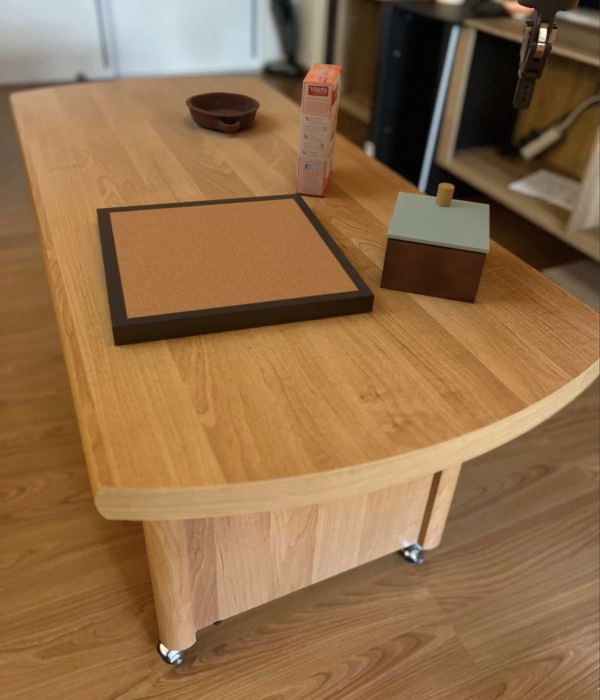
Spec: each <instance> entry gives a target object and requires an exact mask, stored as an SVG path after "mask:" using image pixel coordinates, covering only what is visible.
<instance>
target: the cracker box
mask: <svg viewBox="0 0 600 700" xmlns="http://www.w3.org/2000/svg"><path fill="white" fill-rule="evenodd" d="M342 75H343V66H341V65H337V64H326V63H318V62H317V63H313V64H312V66H311V67H310V68H309V71H308V72H307V74H306V76H305V77H304V79H303V81H302V93H301V105H300V106H301V108H300V122H299V136H298V151H297V152H298V153H297V167H296V181H295V182H296V183H295V194H300V195H305V196H312V197H313V196H314V197H321V198H323V197H324V196H325V193H326V190H327V187H328V184H329V181H330V177H331V175H332V171H333V161H334V154H335V145H336V144H335V143H336V135H337V127H338V124H337V123H338V117H339V108H340V107H339V105H340V97H341V96H340V95H341V87H342V86H341V84H342Z"/></svg>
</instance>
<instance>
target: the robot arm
mask: <svg viewBox="0 0 600 700" xmlns="http://www.w3.org/2000/svg"><path fill="white" fill-rule="evenodd" d="M516 2H517V4H518V5H519V6H521V7H524V8H527V9H533V12H532V14H531V18H530V20H528V19H527V20H525V21H524V25H523V29H522V34H523V36H522V37H523V38H522V41H521V45H520V51H519V57H520V59H519V60H520V61H519V63H518V71H517V75H518V76H517V77H518V81H517V85H516V88H515V92H514V97H513V100H512V105H513V108H514V109H518V110H528V109H529V108H530V106H531V103H532V98H533V96H534V92H535V87H536V84H537V82H538V80H540V79H541V78H542V76H543V72H544V69H545V66H546V65H547V64H546V63H547V62H548V59H549V56H550V54H551V51H552V49H553V46H552V45H553V42H555V40H556V37H557V33H558V30H559V26H558V25H557V22H555V20H556V15H557V13H558V12H571V11H573V10H575V9H576V8H577V7H578V5H579V2H580V0H516Z"/></svg>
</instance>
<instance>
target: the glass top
mask: <svg viewBox="0 0 600 700" xmlns="http://www.w3.org/2000/svg"><path fill="white" fill-rule="evenodd" d="M454 192H455V185H454V184H452V183H448V182H441V183H439V184H438V187H437V193H436V196H433V195H425V194H420V193H412V192H411V193H410V192H405V191H398V195H397V198H396V201H395V205H394V208H393V212H392V215H391V218H390V222H389V226H388V228H387V232H386V238H387V239H388V238H393V239H400V240H406V241H412V242H419V243H425V244H431V245H438V246H444V247H451V248H457V249H463V250H470V251H476V252H482V253H487V254H489V253H490V250H491V249H490V204H487V203H482V202H481V203H480V202H474V201H467V200H461V199H460V200H459V199H453V196H454Z"/></svg>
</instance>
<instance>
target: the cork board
mask: <svg viewBox="0 0 600 700" xmlns="http://www.w3.org/2000/svg"><path fill="white" fill-rule="evenodd" d="M95 211H96V218H97V225H98V232H99V240H100V248H101V256H102V263H103V269H104V277H105V285H106V293H107V301H108V309H109V316H110V322H111V330H112V336H113V337H112V338H113V342H114V346H115V347H116V346H123V345H131V344H138V343H146V342H154V341H161V340H168V339H176V338H185V337H192V336H199V335H205V334H206V335H207V334H214V332H215V333H222V331H223V332H228V331H229V332H230V331H236V330H237V329H238V330H244V329H245V330H246V329H251V328H252V329H253V328H259V327H268V326H275V325H282V324H290V323H298V322H304V321H312V320H321V319H328V318H335V317H343V316H351V315H358V314H366V313H372V312H373V308H374V302H375V294H374V292H373V291H372V290H371V288H370V287H369V286H368V284H367V283H366V282H365V280H364V279H363V278H362V276H361V275H360V274H359V272H358V270H356V268H355V267H354V265H353V264H352V263H351V261H350V260H349V258H348V257H347V256H346V255H345V253H344V252H343V250H342V249H341V248H340V247H339V245H338V244H337V242H336V241H335V240H334V239H333V237H332V236H331V234H330V233H329V232H328V230H327V229H326V227H325V226H324V225H323V224H322V222H321V221H320V219H319V218H318V217H317V216H316V214H315V213H314V211H313V210H312V208H310V206H309V205H308V203H307V202H306V201H305V199H304V198H303V197H302V194H297V193H286V194H273V195H260V196H259V195H258V196H247V197H233V198H222V199H221V198H220V199H208V200H193V201H181V202H180V201H179V202H165V203H153V204H140V205H126V206H113V207H99V208H98V207H97V208H96V209H95ZM238 330H237V331H238Z"/></svg>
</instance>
